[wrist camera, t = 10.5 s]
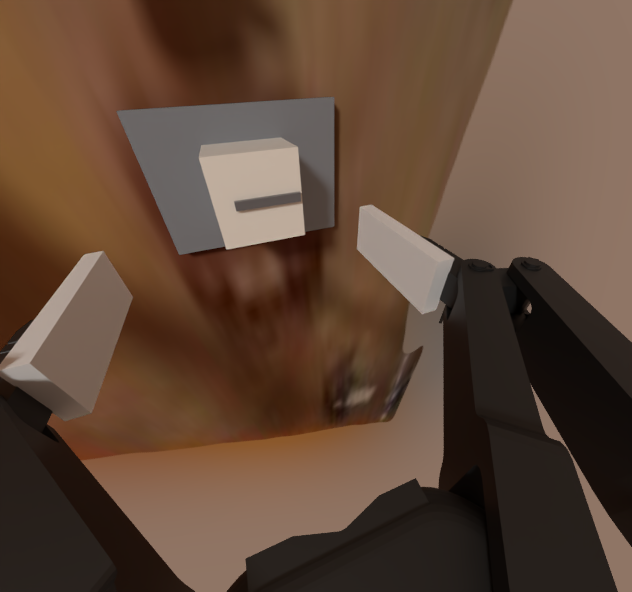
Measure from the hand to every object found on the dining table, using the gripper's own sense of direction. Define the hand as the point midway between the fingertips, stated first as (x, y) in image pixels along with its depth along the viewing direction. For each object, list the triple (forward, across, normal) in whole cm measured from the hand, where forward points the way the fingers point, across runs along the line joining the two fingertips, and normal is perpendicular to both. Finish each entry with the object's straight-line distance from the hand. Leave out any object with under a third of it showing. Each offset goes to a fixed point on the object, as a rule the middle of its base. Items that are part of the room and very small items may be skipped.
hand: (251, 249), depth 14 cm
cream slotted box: (+18, +2, -1) cm, 18 cm away
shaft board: (+19, +2, -1) cm, 19 cm away
